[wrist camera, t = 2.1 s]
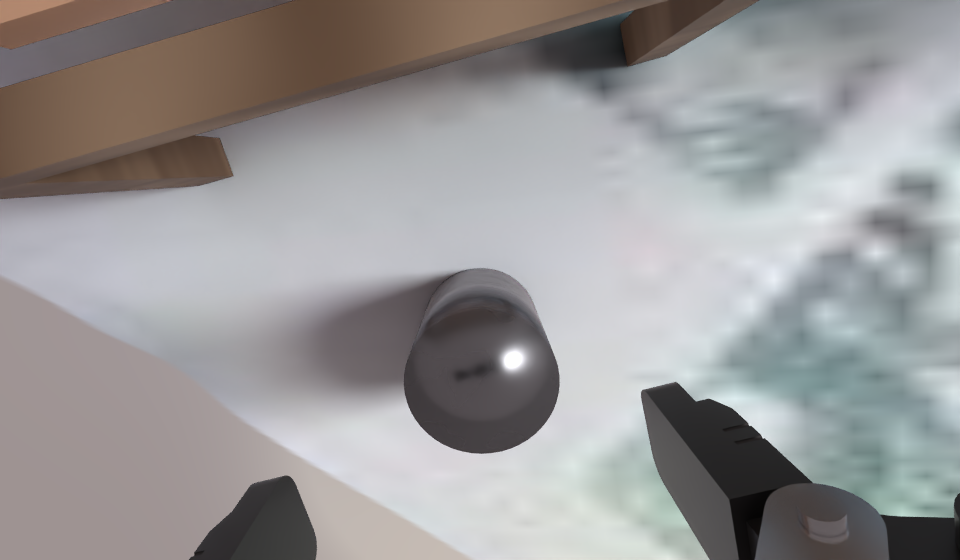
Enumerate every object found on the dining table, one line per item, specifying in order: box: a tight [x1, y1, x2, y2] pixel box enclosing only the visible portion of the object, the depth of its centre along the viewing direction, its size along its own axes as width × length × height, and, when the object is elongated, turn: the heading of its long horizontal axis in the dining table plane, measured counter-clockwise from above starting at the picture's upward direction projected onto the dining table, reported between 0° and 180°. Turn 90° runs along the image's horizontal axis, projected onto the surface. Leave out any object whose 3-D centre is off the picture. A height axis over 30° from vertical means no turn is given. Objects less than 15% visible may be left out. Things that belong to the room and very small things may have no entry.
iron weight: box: [404, 268, 559, 454], centre depth 18 cm, size 5×5×6 cm
